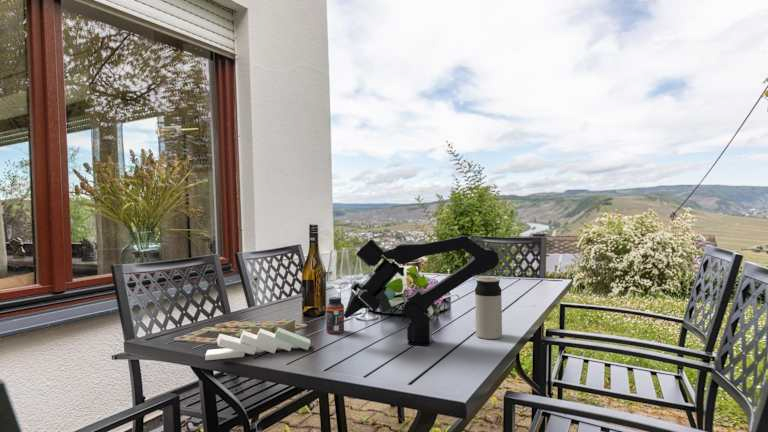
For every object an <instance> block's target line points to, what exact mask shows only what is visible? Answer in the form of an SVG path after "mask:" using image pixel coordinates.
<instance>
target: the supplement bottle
mask: <svg viewBox="0 0 768 432" xmlns="http://www.w3.org/2000/svg"><path fill="white" fill-rule="evenodd" d="M344 314H345V305H344V304H343V303H342V297H341V296H331V297H329V298H328V303H327V304H326V305H325V321H326V322H325V325H326V326H325V328H326V333H328V334H333V335H335V334H341V333H342V334H343V332H344V331H345V317H344Z"/></svg>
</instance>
